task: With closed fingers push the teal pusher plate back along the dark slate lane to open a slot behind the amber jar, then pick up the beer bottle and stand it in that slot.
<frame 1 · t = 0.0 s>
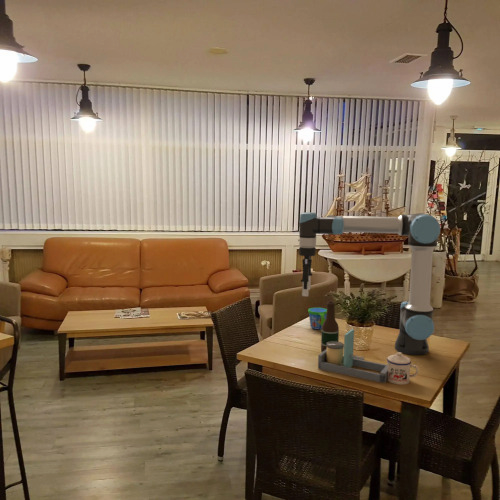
hand: (306, 292, 211), 28 cm above the table, fingers open, 13 cm apart
teacup with lid: (401, 381, 184), on the table, touching lane
pusher: (355, 351, 192), point 8 cm above the table, slide at 0.0 cm
lane: (354, 370, 193), on the table
jar: (334, 366, 197), resting in lane
beer bottle: (329, 353, 213), on the table
snack cup: (317, 328, 253), on the table
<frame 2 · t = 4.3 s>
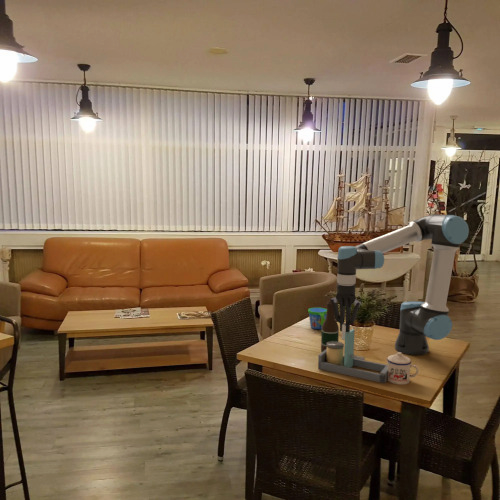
hand: (344, 339, 194), 13 cm above the table, fingers closed
pusher: (356, 351, 192), point 8 cm above the table, slide at 0.2 cm, touching gripper
everything else where it was.
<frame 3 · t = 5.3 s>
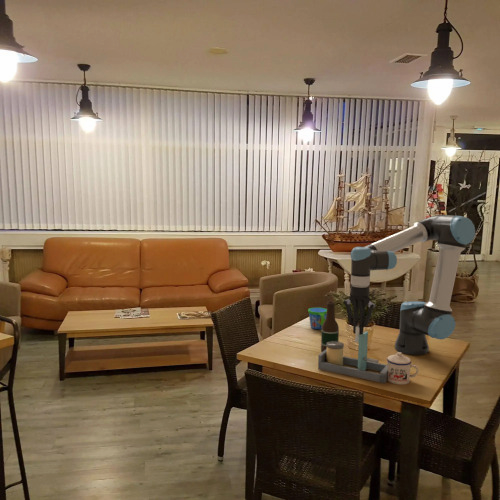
hand: (357, 341, 191), 13 cm above the table, fingers closed
pusher: (369, 354, 189), point 8 cm above the table, slide at 6.0 cm, touching gripper
everything else where it was.
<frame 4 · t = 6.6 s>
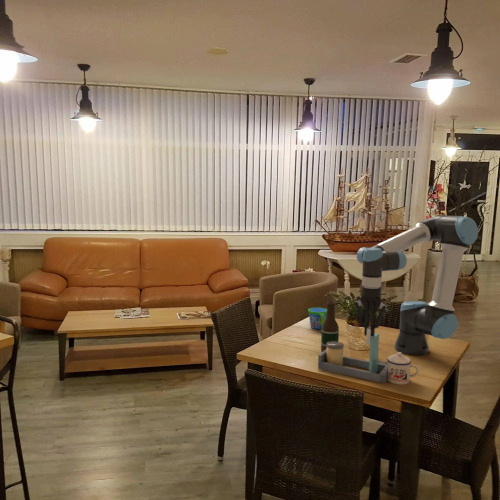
hand: (369, 343, 188), 13 cm above the table, fingers closed
pusher: (381, 356, 186), point 8 cm above the table, slide at 10.6 cm, touching gripper
everything else where it was.
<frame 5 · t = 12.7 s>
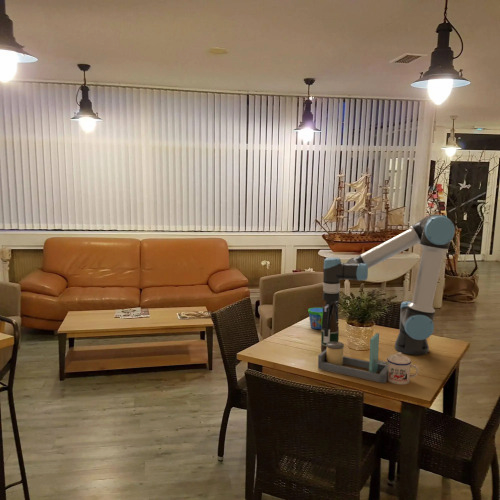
hand: (329, 340, 213), 6 cm above the table, fingers closed on beer bottle, 7 cm apart
pusher: (381, 356, 186), point 8 cm above the table, slide at 10.7 cm
beer bottle: (329, 353, 213), on the table, touching gripper
everything else where it was.
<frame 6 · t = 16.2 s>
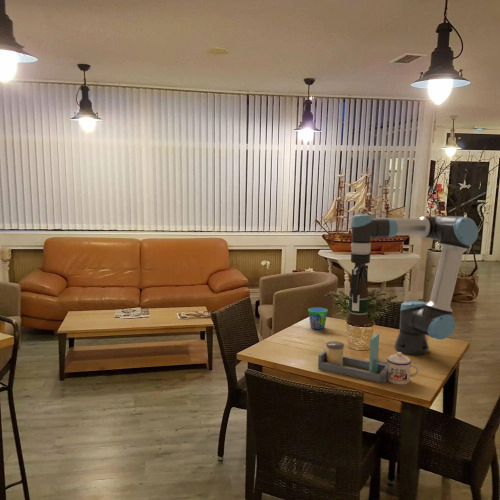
hand: (358, 308, 189), 27 cm above the table, fingers closed on beer bottle, 7 cm apart
beer bottle: (357, 323, 190), point 21 cm above the table, touching gripper
everything else where it was.
when the fingers open (8 cm above the table, at t = 20.1 s): beer bottle drops 1 cm, resting in lane.
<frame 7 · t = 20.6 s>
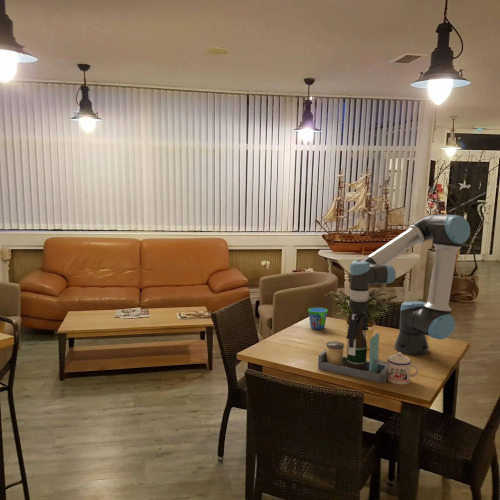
hand: (357, 349, 191), 9 cm above the table, fingers open, 13 cm apart
beer bottle: (356, 371, 193), resting in lane
everything else where it was.
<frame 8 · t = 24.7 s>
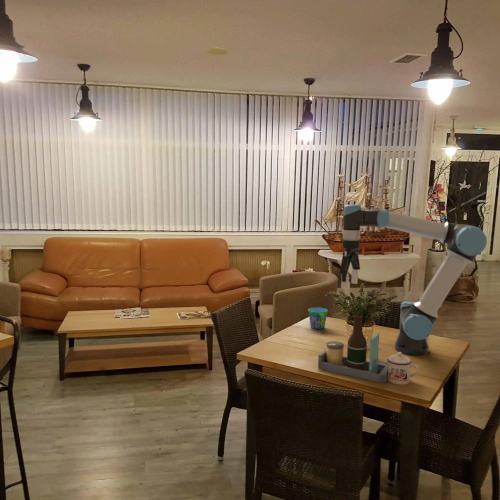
hand: (349, 286, 209), 32 cm above the table, fingers open, 13 cm apart
nothing on the table moved.
at the end: beer bottle inside the target area on the lane (0.1 cm from its centre), point 0.0 cm above the lane's base; beer bottle tilted 0°; pusher slide at 10.7 cm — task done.
